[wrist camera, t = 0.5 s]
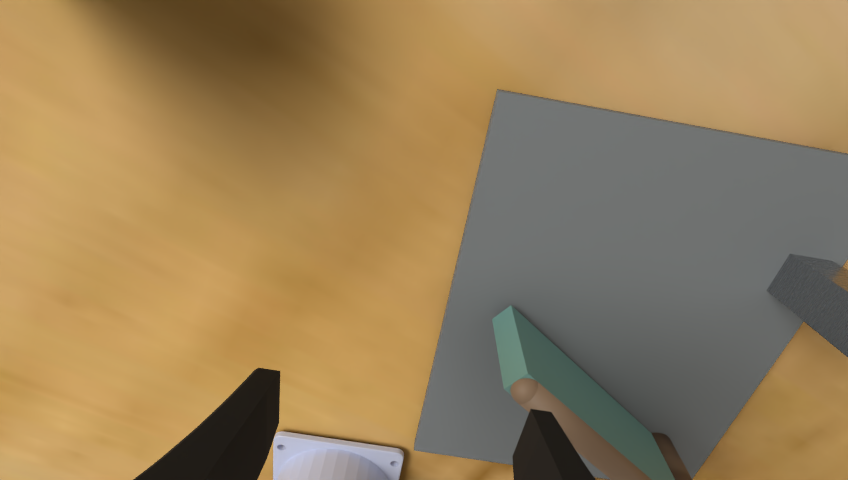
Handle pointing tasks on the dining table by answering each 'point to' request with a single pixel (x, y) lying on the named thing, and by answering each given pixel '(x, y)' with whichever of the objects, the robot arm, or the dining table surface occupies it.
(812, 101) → the dining table surface
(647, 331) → the slate mat
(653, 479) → the gate
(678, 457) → the hinge post
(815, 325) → the dark grey rectangular block
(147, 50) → the dining table surface
